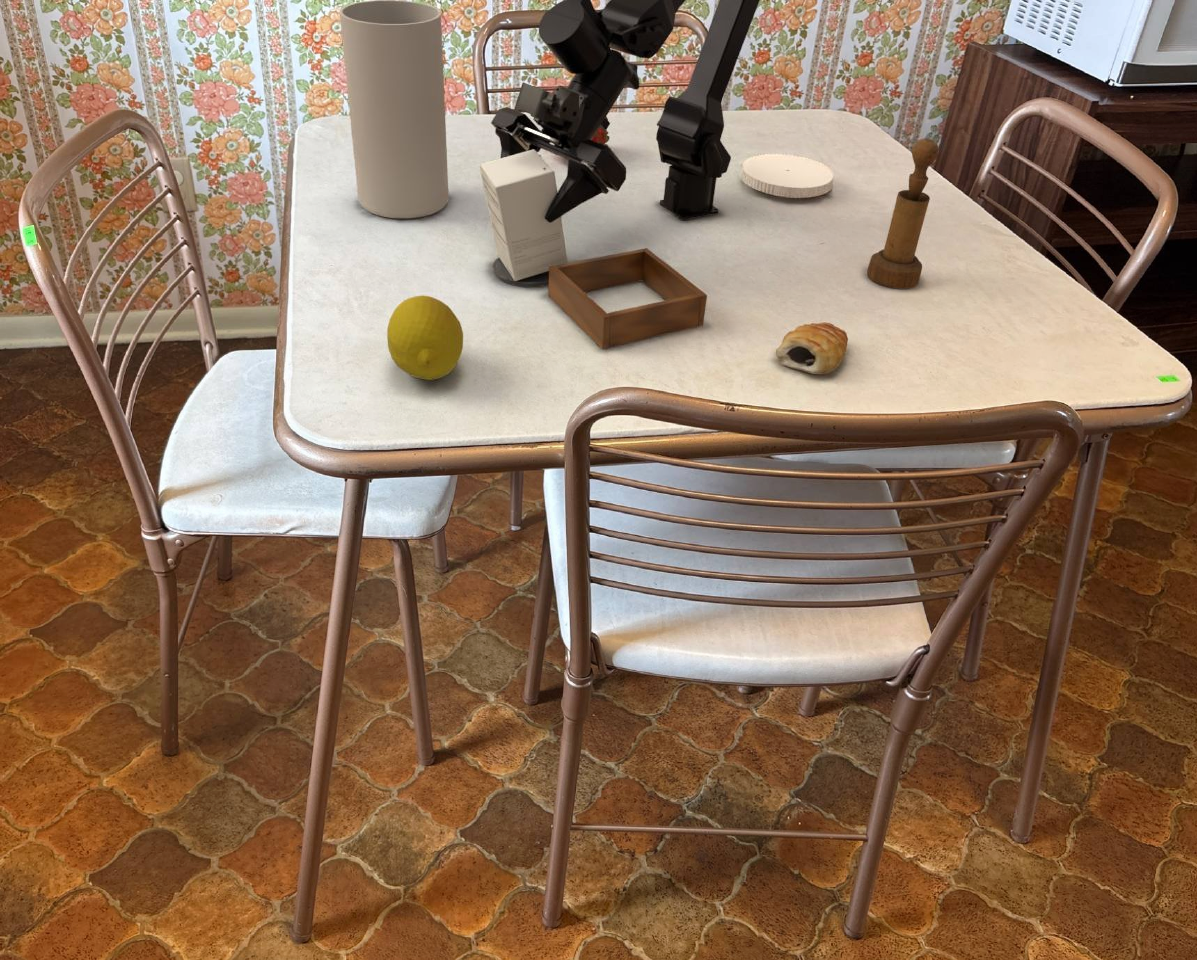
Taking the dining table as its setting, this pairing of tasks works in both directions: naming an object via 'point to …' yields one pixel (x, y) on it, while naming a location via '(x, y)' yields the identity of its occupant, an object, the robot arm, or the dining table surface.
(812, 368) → the pastry
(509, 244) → the white packaging box
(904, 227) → the mortar and pestle
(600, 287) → the brown square shallow frame
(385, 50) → the cylinder vase
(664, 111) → the robot arm
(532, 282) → the slate coaster
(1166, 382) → the dining table surface
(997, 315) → the dining table surface
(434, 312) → the lemon
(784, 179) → the plastic lid
